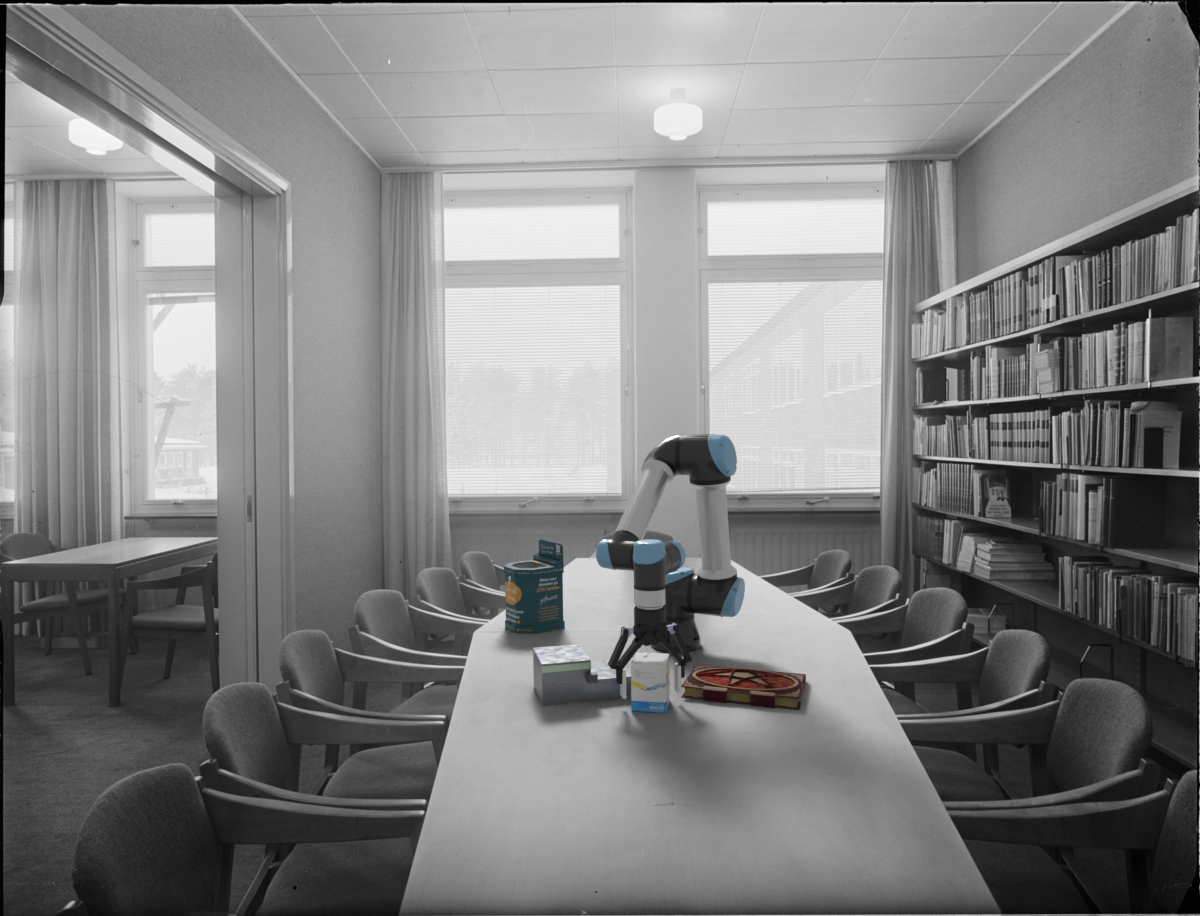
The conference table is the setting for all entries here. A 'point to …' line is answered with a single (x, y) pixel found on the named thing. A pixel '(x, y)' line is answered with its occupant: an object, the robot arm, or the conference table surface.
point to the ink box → (650, 682)
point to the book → (745, 686)
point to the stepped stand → (574, 676)
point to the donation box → (535, 591)
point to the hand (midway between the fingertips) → (650, 694)
